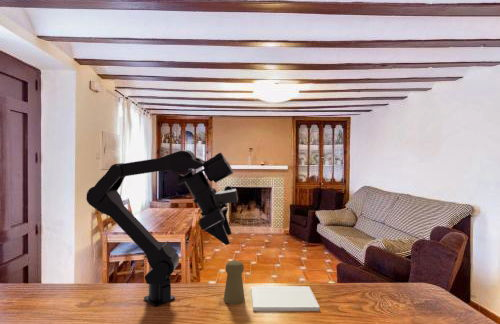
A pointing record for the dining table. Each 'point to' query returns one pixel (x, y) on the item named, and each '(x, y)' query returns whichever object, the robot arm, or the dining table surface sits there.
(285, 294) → the white board
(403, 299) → the dining table surface
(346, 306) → the dining table surface
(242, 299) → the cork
